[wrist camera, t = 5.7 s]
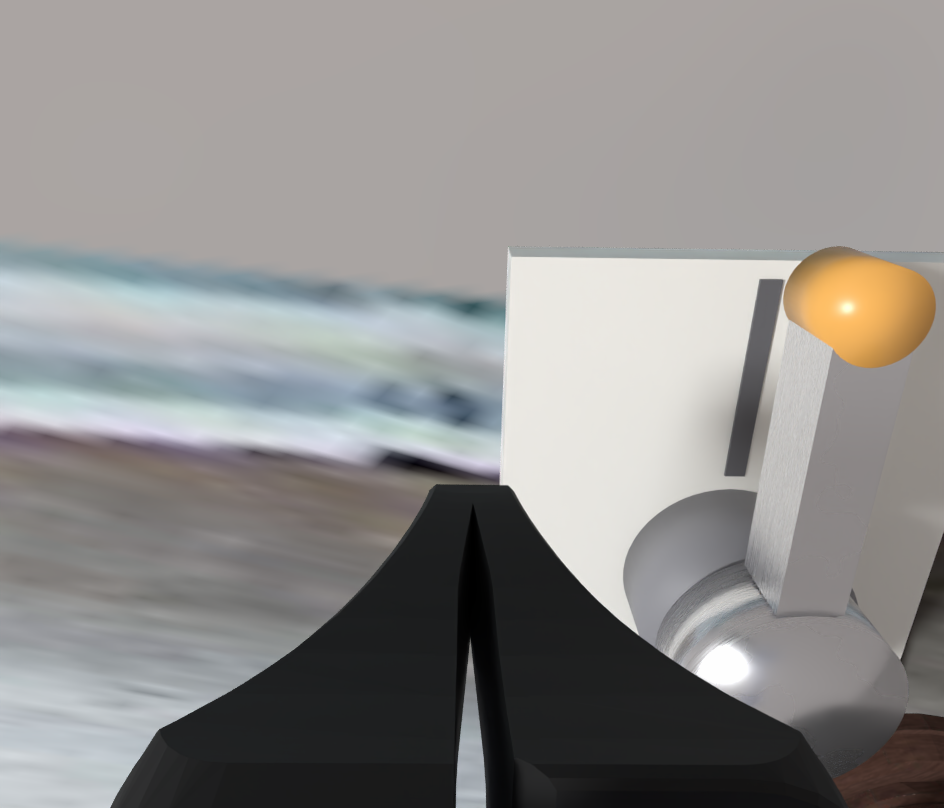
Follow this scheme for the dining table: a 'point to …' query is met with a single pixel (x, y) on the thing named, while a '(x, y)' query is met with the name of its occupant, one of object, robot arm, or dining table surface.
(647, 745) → the robot arm
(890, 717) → the lever with orange knob
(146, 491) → the dining table surface
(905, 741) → the black egg on stand
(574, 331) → the board
